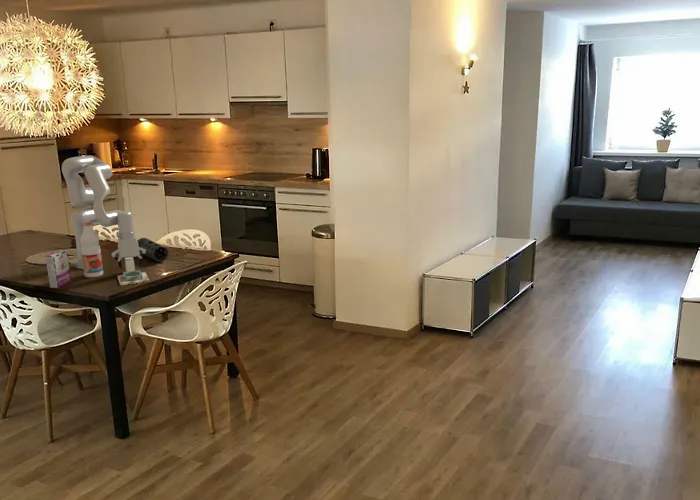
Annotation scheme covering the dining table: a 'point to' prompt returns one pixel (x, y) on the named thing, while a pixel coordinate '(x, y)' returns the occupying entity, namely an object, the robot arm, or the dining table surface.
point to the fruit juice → (91, 252)
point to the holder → (132, 277)
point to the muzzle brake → (153, 250)
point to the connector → (129, 264)
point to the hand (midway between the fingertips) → (130, 266)
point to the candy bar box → (58, 269)
